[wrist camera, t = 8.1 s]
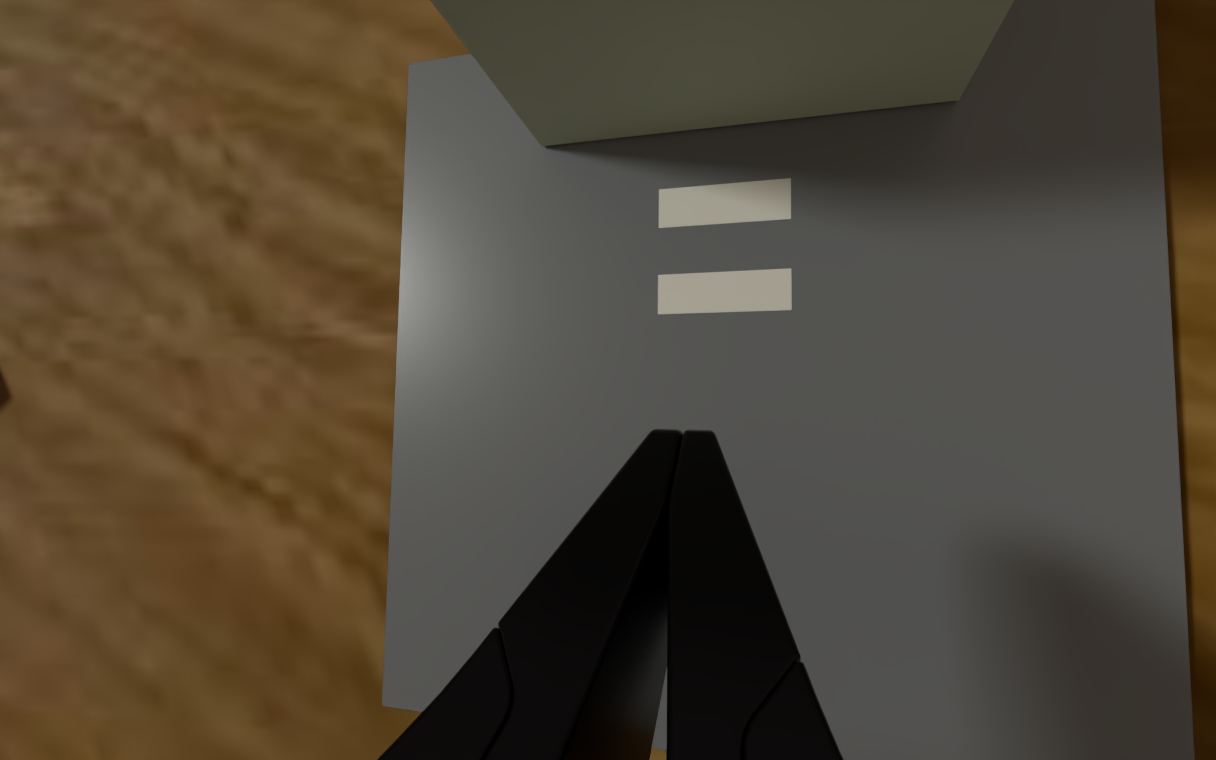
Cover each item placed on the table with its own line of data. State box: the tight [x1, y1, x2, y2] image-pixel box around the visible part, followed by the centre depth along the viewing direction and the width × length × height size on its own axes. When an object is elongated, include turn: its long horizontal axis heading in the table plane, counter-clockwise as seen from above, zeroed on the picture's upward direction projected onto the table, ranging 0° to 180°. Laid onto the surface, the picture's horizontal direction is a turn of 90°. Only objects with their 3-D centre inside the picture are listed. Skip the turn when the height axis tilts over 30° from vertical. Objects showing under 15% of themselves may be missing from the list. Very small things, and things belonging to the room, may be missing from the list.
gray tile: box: [382, 0, 1195, 760], centre depth 15 cm, size 18×18×1 cm
